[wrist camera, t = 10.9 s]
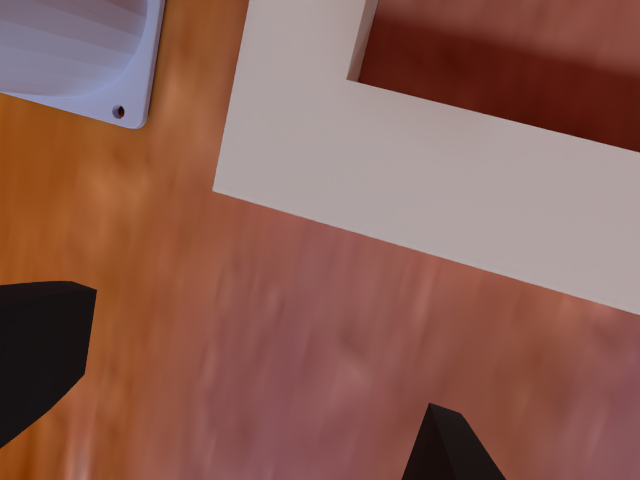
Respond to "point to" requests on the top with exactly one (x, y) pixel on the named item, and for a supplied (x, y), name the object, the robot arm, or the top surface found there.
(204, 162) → the top surface
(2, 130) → the top surface
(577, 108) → the top surface
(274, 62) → the puzzle board
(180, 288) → the top surface
